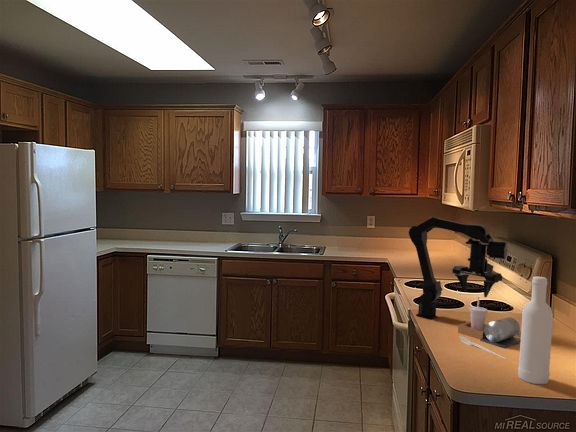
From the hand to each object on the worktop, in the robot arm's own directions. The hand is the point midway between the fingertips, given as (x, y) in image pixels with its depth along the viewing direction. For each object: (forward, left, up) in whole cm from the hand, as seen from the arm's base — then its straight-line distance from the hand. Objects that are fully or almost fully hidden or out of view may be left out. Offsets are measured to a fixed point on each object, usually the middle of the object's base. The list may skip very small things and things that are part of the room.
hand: (474, 294), depth 183 cm
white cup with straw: (+7, -8, -13) cm, 17 cm away
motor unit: (+11, -8, -13) cm, 19 cm away
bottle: (+39, -33, -13) cm, 53 cm away
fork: (+17, -22, -13) cm, 31 cm away
